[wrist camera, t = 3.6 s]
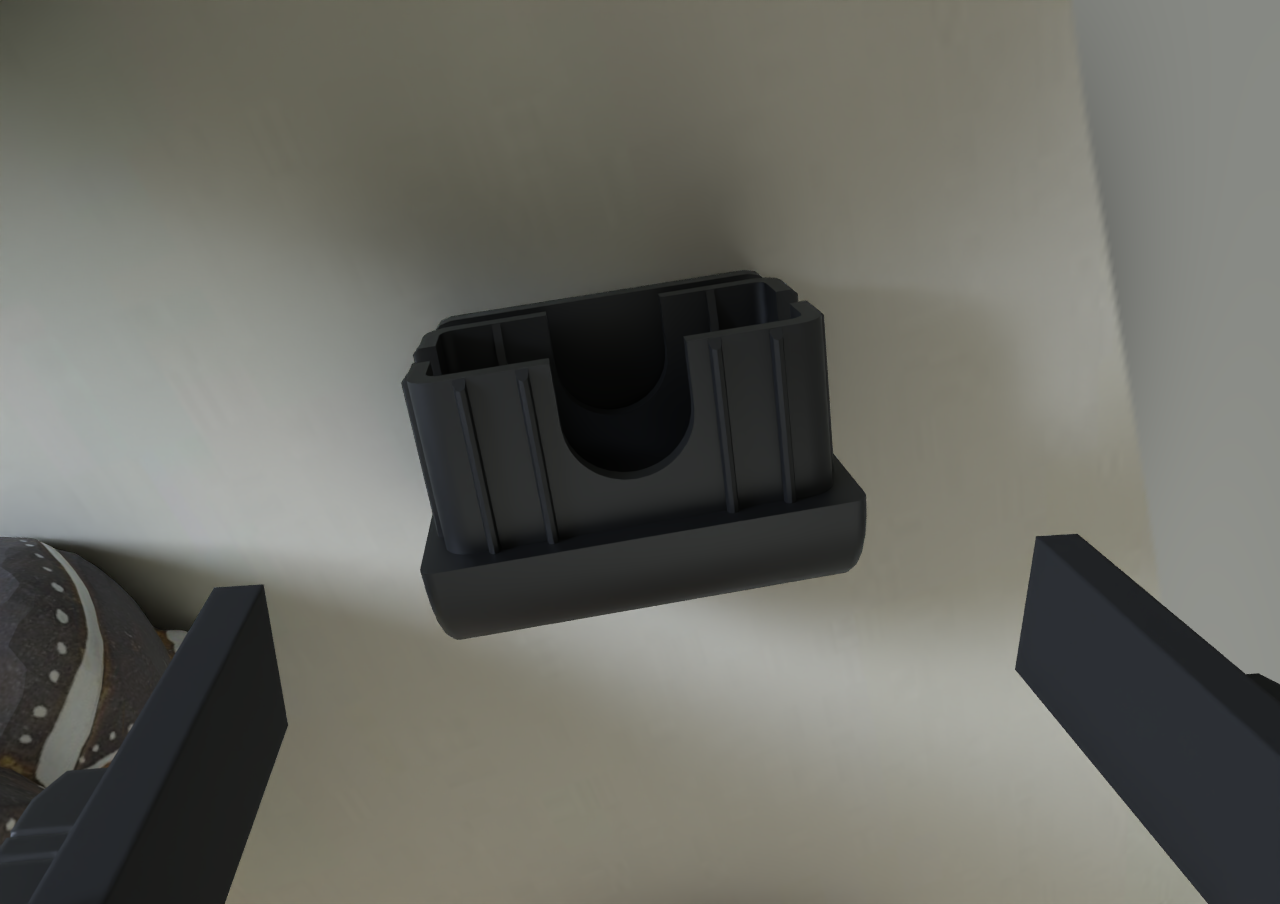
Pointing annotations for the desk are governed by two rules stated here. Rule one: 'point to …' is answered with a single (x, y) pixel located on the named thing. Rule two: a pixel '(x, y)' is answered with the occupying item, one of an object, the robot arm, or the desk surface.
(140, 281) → the desk surface
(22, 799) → the figurine
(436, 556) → the end cap
